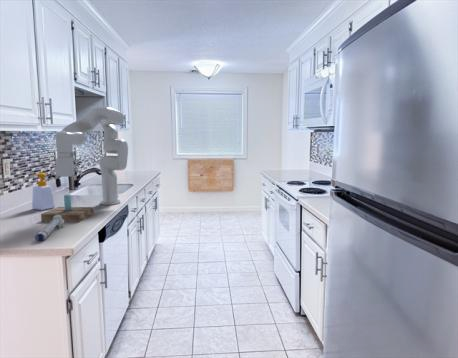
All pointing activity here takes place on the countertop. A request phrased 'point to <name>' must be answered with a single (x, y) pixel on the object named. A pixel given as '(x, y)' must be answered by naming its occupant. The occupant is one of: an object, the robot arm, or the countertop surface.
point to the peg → (67, 202)
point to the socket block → (68, 214)
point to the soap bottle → (42, 194)
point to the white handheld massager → (50, 228)
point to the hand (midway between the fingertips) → (67, 186)
